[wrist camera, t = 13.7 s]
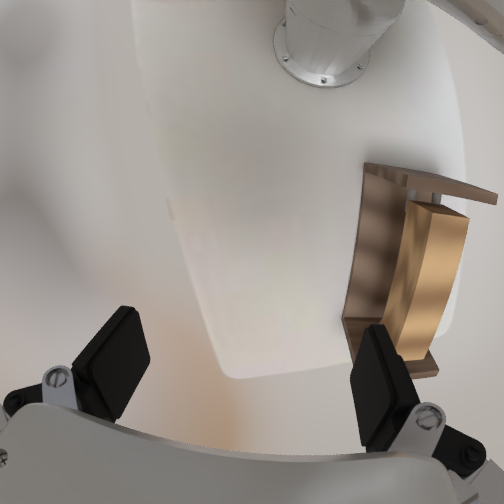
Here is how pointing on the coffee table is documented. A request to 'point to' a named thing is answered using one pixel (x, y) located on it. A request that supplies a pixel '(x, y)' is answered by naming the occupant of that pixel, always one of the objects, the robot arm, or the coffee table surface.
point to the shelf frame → (390, 245)
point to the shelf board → (423, 276)
